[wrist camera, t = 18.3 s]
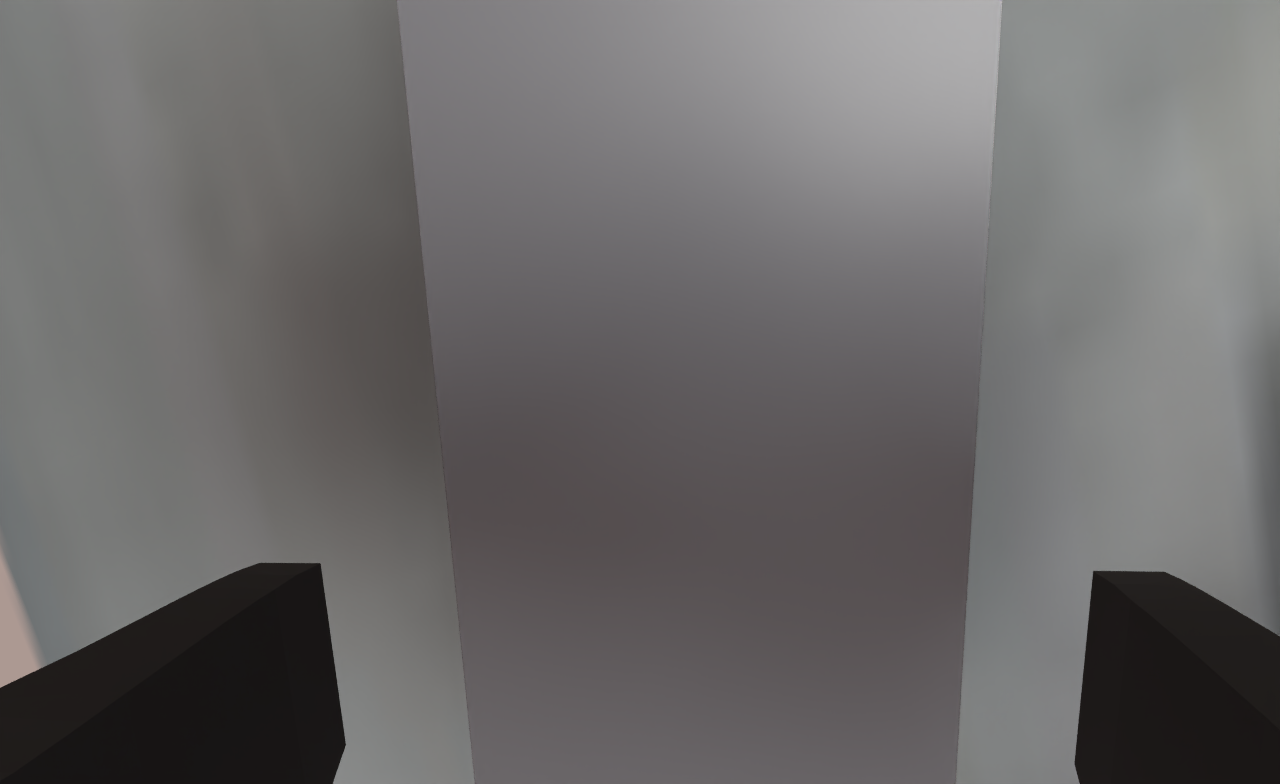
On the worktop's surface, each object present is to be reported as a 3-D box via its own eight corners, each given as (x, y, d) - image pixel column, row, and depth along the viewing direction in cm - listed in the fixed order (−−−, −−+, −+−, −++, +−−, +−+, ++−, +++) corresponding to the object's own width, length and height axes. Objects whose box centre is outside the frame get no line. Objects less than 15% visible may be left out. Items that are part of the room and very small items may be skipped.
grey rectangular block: (916, -38, 17) (1005, -51, 11) (889, 688, 21) (944, 966, 15) (515, -22, 18) (394, -27, 12) (563, 682, 22) (491, 948, 16)
